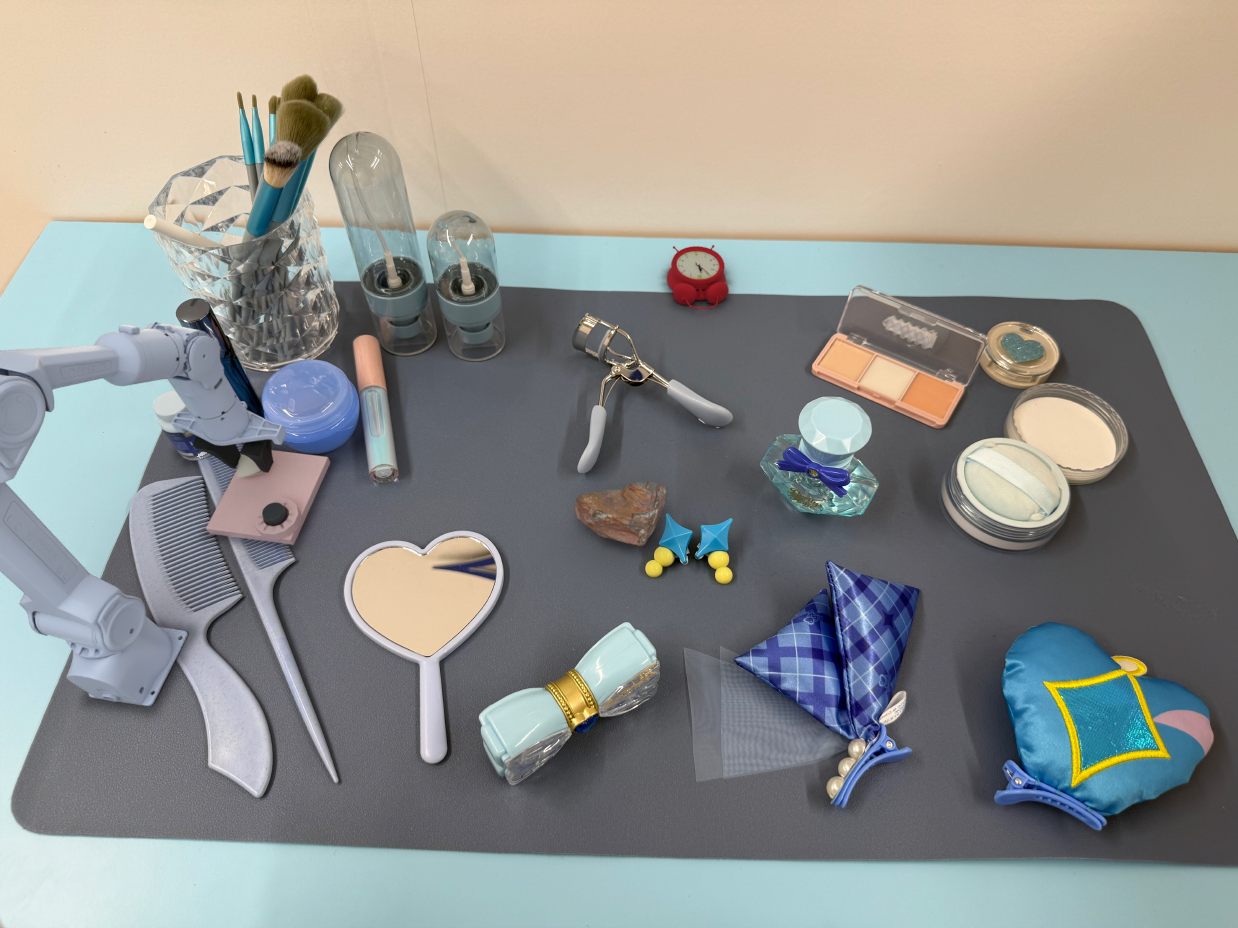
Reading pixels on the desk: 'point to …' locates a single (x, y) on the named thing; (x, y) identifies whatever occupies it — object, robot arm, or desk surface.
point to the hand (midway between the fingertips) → (252, 464)
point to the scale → (270, 499)
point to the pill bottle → (166, 412)
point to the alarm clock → (697, 276)
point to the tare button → (274, 514)
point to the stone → (623, 511)
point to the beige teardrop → (247, 467)
